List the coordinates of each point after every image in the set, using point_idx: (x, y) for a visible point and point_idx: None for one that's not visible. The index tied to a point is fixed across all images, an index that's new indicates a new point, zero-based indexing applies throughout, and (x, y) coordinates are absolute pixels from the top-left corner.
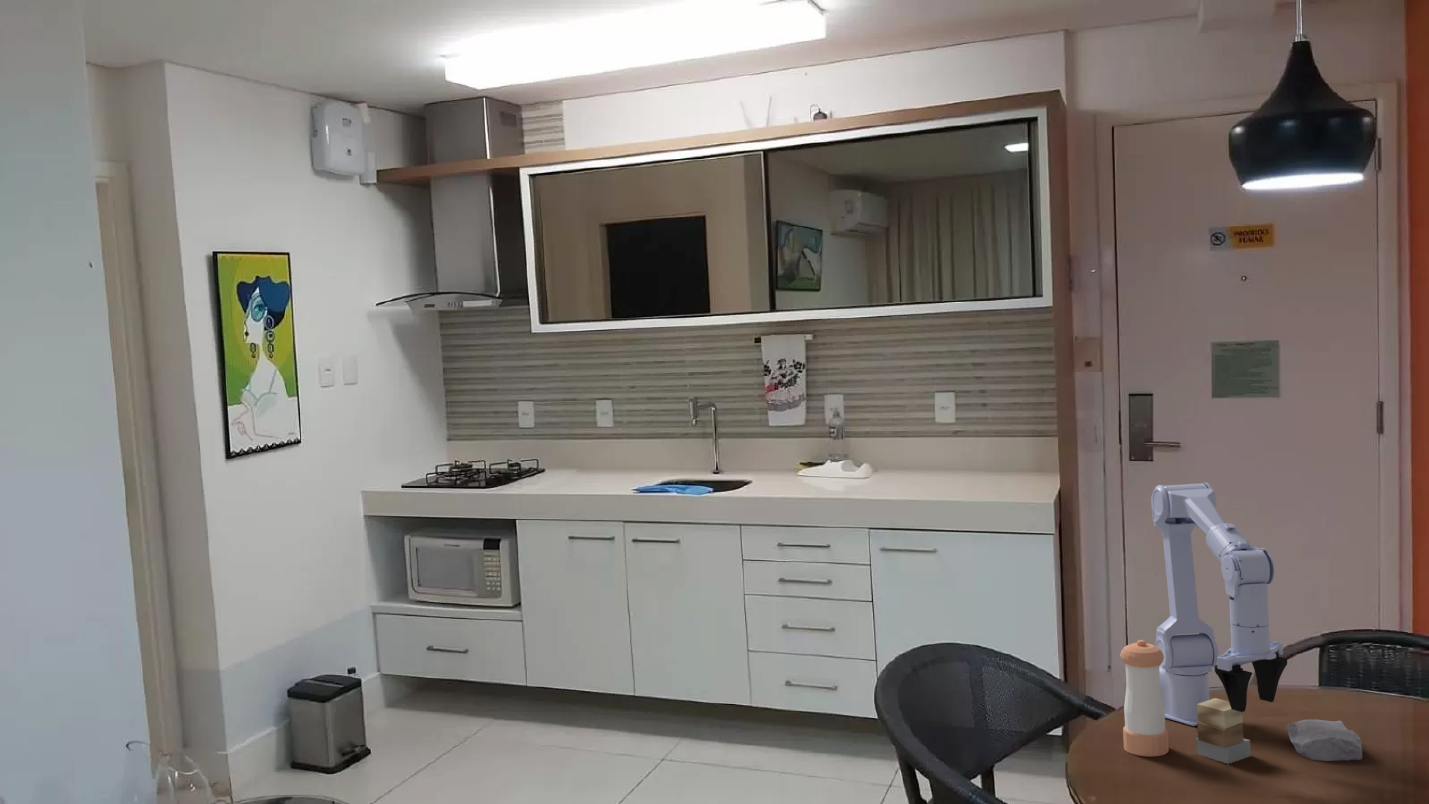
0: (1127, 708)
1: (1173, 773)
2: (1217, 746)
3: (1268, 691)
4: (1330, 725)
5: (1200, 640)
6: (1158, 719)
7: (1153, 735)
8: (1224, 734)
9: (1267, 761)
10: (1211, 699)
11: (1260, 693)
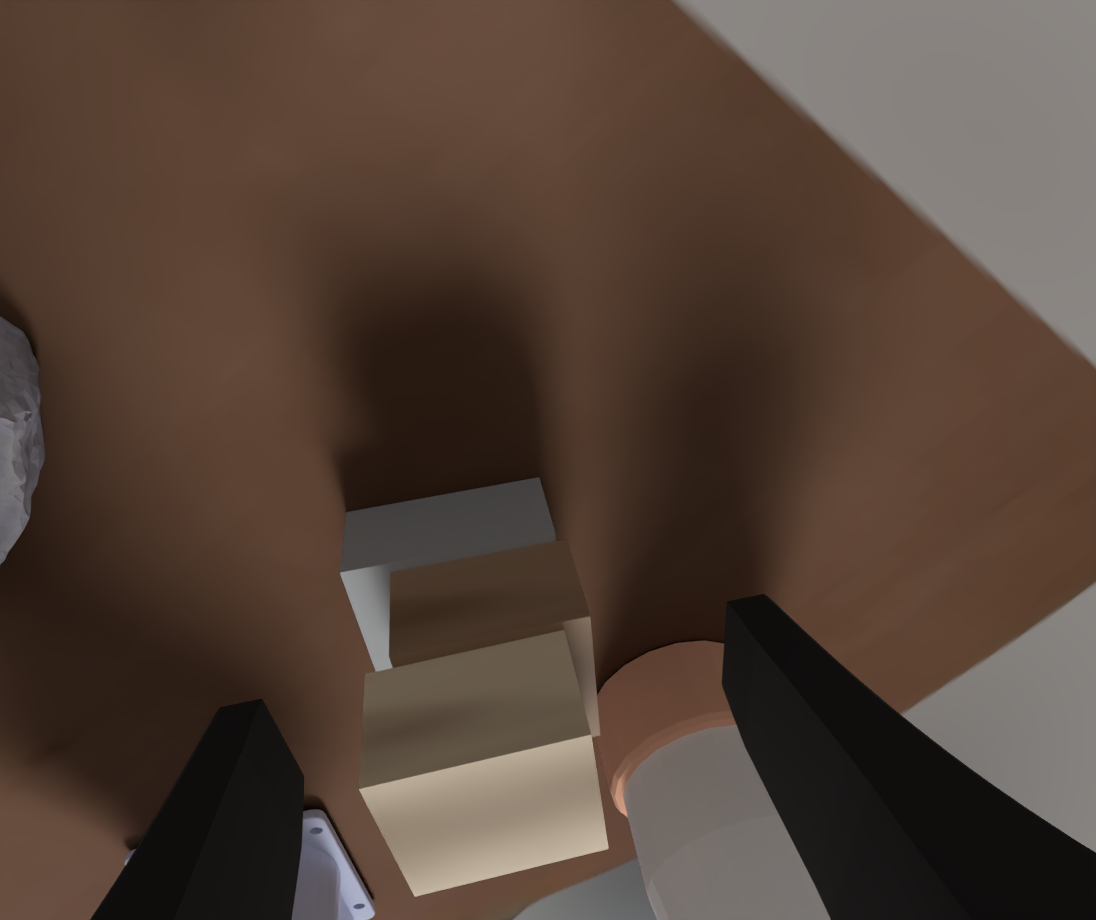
0: None
1: (827, 493)
2: None
3: (246, 832)
4: None
5: None
6: (752, 793)
7: None
8: (577, 597)
9: (320, 425)
10: (458, 885)
11: (292, 836)
